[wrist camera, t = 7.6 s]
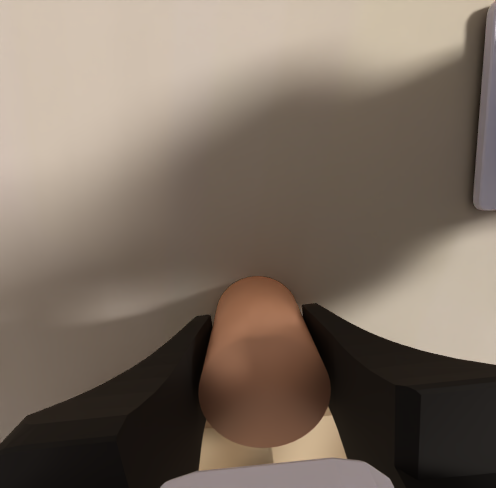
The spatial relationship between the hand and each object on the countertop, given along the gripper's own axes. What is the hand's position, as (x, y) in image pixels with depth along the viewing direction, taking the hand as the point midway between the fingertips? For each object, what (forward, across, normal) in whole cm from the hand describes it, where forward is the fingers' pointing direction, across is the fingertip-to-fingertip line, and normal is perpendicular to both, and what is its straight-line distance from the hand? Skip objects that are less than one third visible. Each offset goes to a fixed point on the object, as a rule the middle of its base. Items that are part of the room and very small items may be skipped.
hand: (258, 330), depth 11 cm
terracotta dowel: (+1, 0, 0) cm, 1 cm away
